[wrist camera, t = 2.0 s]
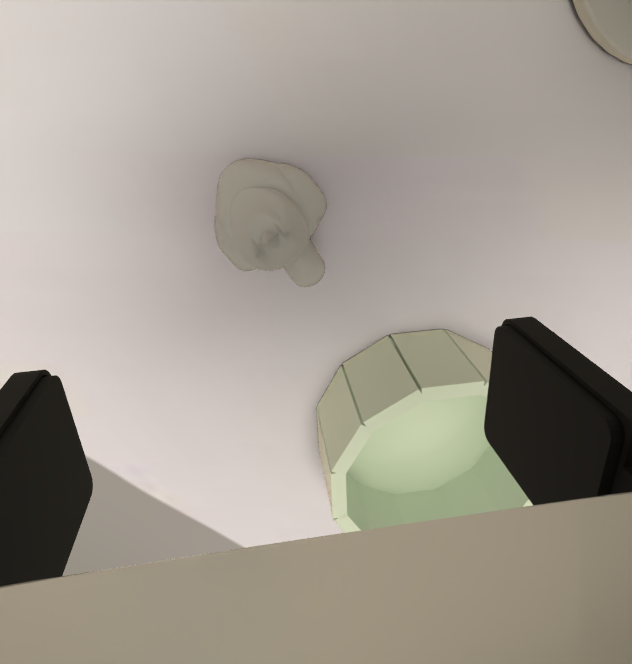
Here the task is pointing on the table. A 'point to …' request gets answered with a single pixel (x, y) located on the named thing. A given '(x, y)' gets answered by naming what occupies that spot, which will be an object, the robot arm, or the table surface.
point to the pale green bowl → (411, 434)
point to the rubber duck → (270, 219)
